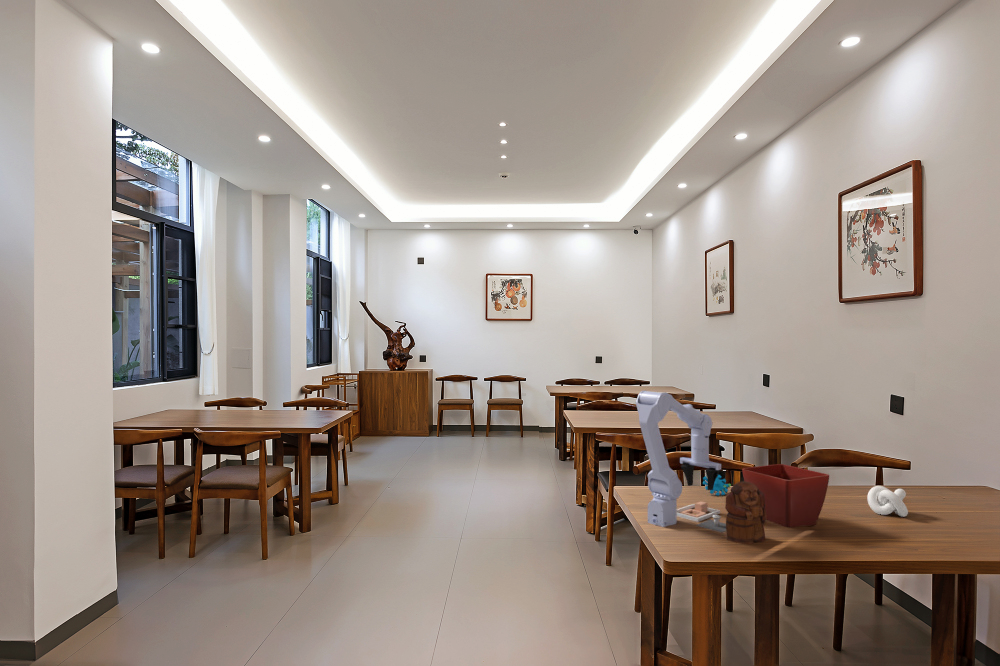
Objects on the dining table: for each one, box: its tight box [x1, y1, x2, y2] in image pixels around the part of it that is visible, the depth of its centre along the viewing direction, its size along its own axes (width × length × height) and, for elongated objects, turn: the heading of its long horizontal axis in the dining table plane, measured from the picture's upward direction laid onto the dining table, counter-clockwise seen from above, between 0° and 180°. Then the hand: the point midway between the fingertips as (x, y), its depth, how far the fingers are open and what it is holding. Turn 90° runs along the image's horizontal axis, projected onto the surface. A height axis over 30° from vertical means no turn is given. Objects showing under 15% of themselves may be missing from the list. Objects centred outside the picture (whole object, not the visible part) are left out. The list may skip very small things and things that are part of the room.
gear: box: [702, 474, 732, 497], centre depth 221 cm, size 11×6×10 cm
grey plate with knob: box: [695, 514, 726, 534], centre depth 177 cm, size 9×9×4 cm
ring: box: [680, 500, 709, 518], centre depth 190 cm, size 10×6×4 cm, turn 130°
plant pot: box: [741, 463, 830, 528], centre depth 184 cm, size 19×19×17 cm
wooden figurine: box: [724, 480, 767, 545], centre depth 165 cm, size 12×6×18 cm, turn 110°
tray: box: [677, 503, 721, 523], centre depth 190 cm, size 14×10×2 cm
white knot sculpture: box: [866, 485, 909, 518], centre depth 193 cm, size 11×12×9 cm
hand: (700, 487), depth 192 cm, fingers open, 7 cm apart
